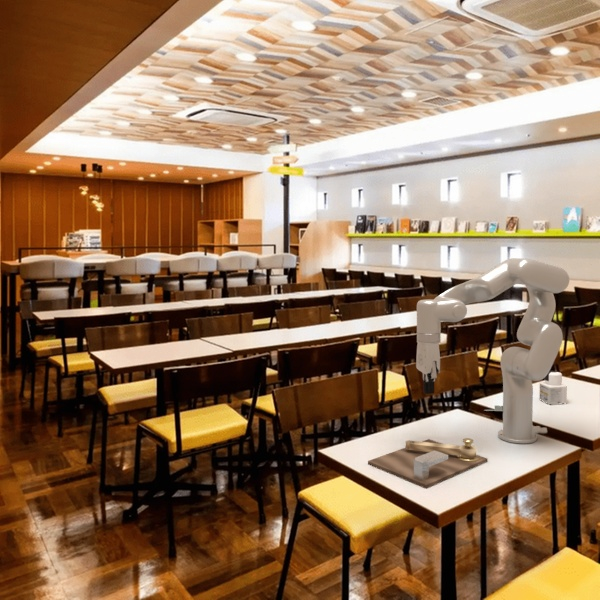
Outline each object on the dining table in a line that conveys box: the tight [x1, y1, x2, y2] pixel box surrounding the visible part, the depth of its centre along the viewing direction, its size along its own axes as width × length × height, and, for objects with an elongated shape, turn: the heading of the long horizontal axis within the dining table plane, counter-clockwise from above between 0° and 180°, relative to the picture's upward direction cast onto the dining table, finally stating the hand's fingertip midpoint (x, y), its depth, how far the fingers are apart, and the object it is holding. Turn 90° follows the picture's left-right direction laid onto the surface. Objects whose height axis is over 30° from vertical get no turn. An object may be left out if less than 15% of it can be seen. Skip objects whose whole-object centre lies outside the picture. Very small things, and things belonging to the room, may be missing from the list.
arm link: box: [405, 440, 477, 458], centre depth 176 cm, size 22×5×2 cm, turn 68°
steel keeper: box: [414, 450, 448, 480], centre depth 162 cm, size 10×5×5 cm, turn 128°
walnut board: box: [367, 438, 488, 489], centre depth 172 cm, size 29×23×1 cm
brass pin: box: [457, 437, 479, 462], centre depth 173 cm, size 6×6×6 cm
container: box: [539, 370, 568, 405], centre depth 232 cm, size 8×8×13 cm
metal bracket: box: [483, 405, 503, 412], centre depth 217 cm, size 14×6×15 cm
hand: (428, 392), depth 182 cm, fingers closed
